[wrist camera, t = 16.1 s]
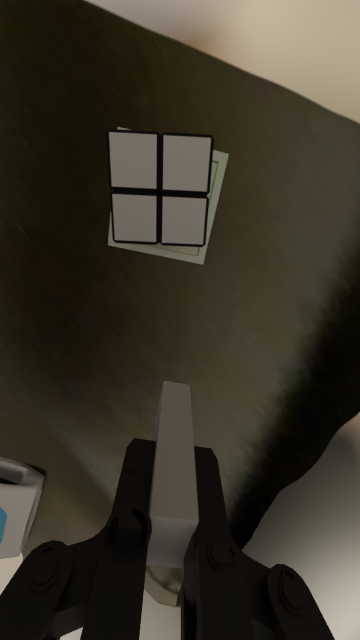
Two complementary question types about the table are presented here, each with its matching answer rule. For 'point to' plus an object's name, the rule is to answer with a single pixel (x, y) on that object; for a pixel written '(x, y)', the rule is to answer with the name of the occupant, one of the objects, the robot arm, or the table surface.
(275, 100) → the table surface
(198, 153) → the puzzle cube
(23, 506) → the step stool
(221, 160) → the baseplate
